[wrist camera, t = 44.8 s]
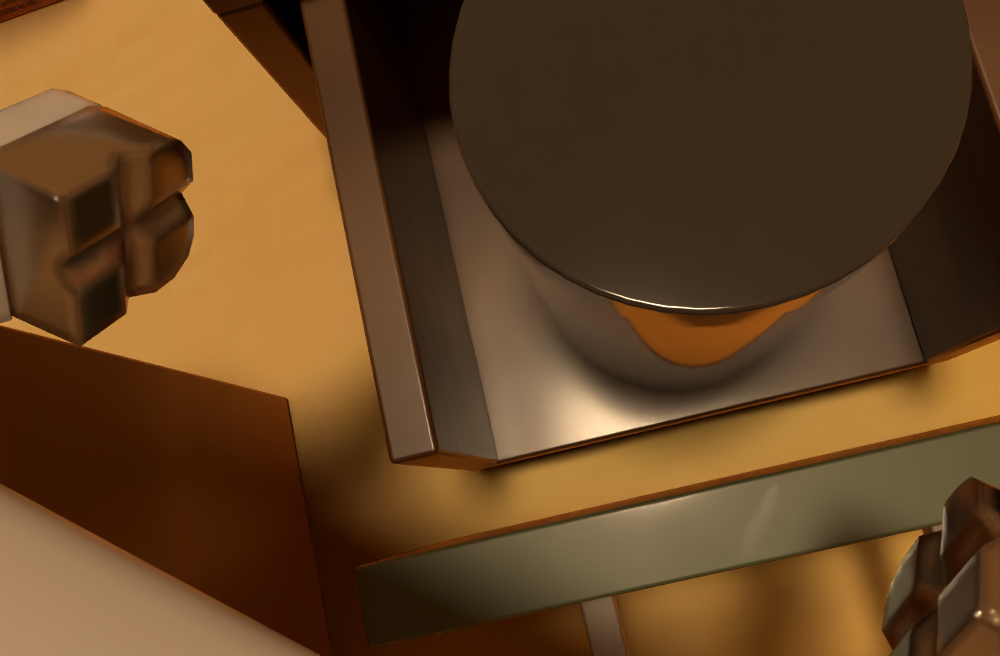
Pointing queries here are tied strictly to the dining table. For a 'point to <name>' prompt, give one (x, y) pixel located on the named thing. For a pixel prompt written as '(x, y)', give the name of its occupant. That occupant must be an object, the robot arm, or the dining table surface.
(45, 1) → the milk carton
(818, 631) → the dining table surface
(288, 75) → the cabinet
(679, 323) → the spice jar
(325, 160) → the dining table surface
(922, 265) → the drawer
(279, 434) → the stand
